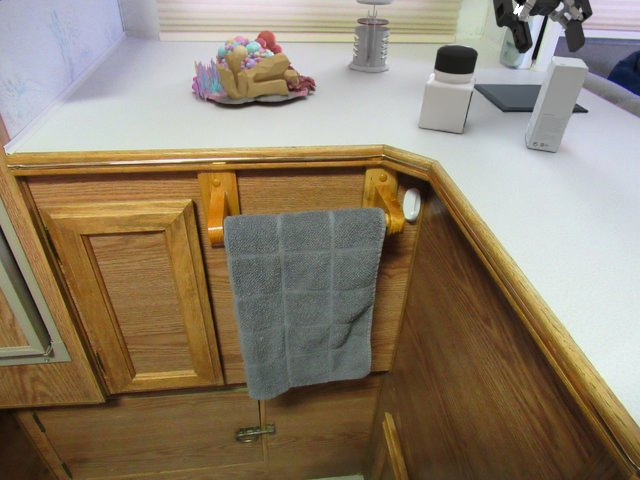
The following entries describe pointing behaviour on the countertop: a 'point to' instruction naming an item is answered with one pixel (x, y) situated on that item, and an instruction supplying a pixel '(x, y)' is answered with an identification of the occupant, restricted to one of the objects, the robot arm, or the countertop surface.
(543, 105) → the cosmetic box
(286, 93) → the candy landscape model
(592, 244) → the countertop surface
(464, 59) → the medicine bottle
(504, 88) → the slate mat
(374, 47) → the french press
